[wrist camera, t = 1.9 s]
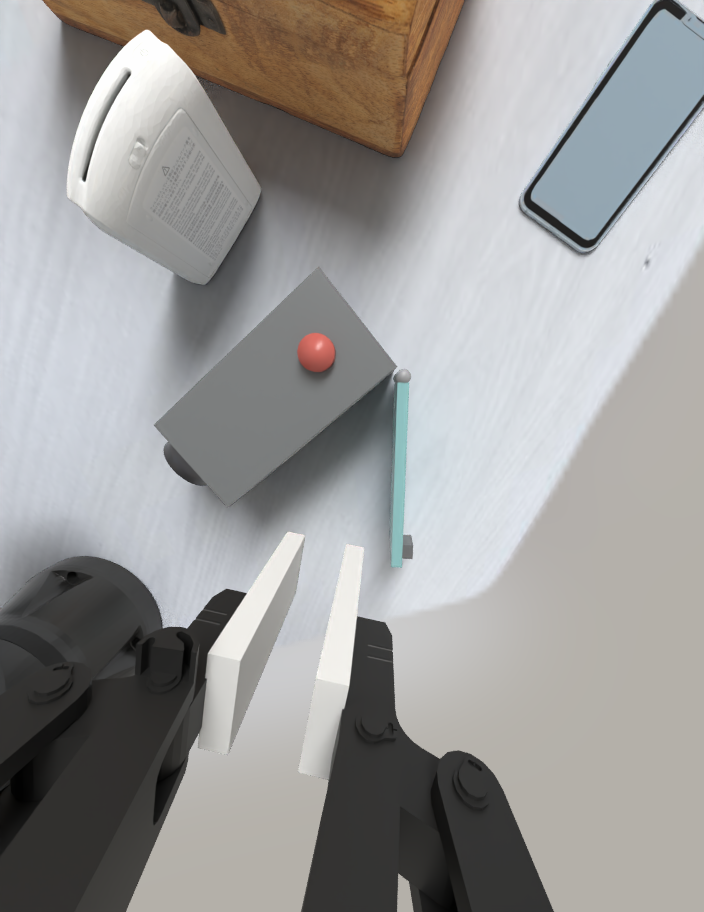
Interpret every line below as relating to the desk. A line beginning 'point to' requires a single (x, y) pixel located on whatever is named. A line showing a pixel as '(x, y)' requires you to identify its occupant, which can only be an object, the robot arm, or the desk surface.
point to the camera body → (274, 391)
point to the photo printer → (160, 163)
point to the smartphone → (622, 128)
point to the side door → (399, 471)
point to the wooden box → (298, 53)
